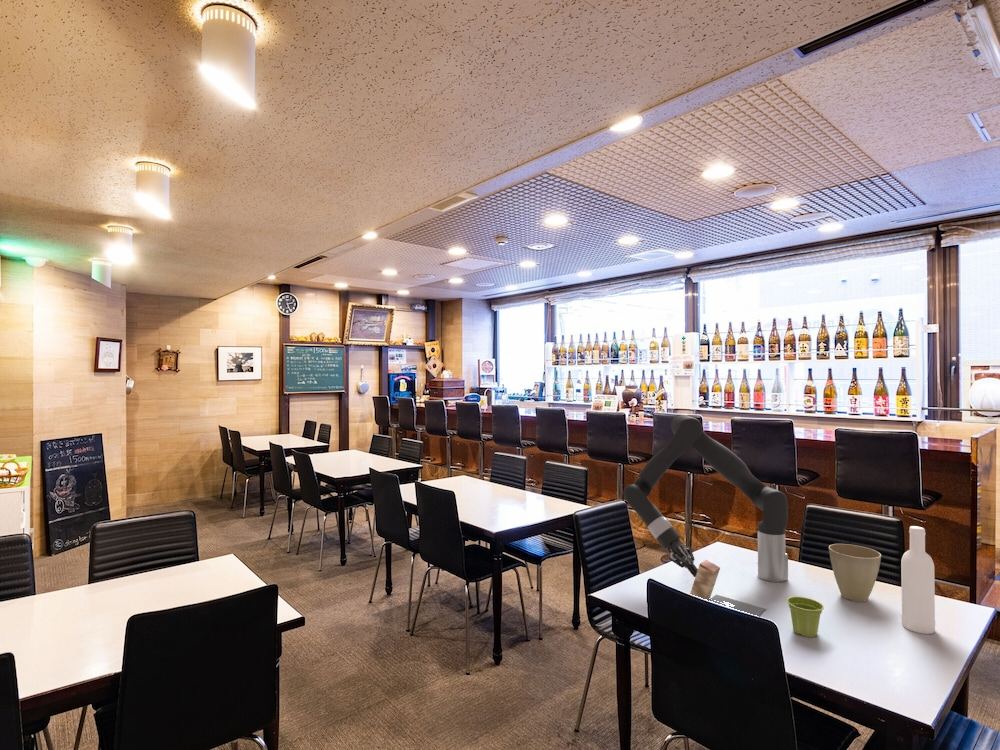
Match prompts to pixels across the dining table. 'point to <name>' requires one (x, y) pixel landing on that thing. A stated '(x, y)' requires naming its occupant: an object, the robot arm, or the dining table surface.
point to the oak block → (705, 580)
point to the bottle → (918, 585)
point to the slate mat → (739, 605)
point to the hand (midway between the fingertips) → (697, 575)
